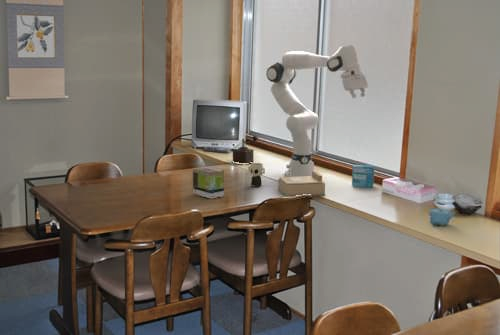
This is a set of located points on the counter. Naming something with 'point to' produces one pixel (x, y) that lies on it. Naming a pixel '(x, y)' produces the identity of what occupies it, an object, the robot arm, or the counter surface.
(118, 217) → the counter surface
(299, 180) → the lid
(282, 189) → the tray
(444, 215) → the teapot
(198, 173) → the tea box
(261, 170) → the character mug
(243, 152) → the pepper mill
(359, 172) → the data package
